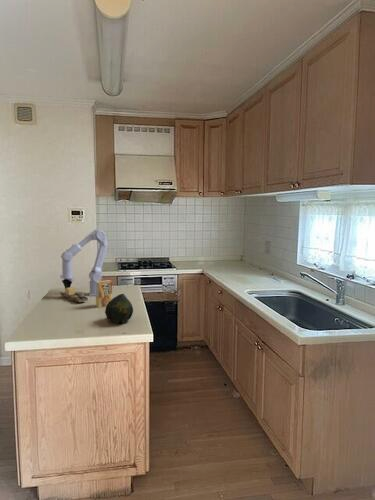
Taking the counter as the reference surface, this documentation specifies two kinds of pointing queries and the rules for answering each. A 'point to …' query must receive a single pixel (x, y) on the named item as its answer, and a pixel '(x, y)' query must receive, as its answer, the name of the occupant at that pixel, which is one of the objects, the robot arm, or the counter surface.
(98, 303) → the candy box
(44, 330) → the counter surface
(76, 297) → the gnarled wood piece
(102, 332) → the counter surface
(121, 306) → the squash
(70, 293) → the rider
